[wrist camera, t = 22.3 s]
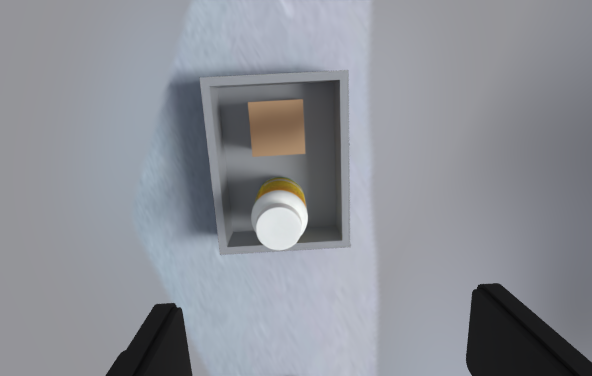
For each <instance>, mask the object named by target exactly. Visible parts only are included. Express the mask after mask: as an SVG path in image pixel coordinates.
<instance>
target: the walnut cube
mask: <svg viewBox="0 0 592 376" xmlns="http://www.w3.org/2000/svg"><path fill="white" fill-rule="evenodd" d="M248 110H249V122H250V134H251V145H252V157H259V156H276V155H294V154H305V134H304V113H303V99H297V100H279V101H261V102H248Z"/></svg>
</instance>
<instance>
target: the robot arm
mask: <svg viewBox="0 0 592 376" xmlns="http://www.w3.org/2000/svg"><path fill="white" fill-rule="evenodd" d="M466 363H467V367H468V370H469V371H470V373H471V375H472V376H592V362H590V361H589V360H588V359H587V358H586V357H585V356H583V355H582V354H581V353H580V352H579V351H578V350H577V349H575V348H574V347H573V346H572V345H571V344H569V343H568V342H567V341H566V340H565V339H564V338H562V337H561V336H560V335H559V334H558V333H557V332H555V331H554V330H553V329H552V328H551V327H550V326H549V325H547V324H546V323H545V322H544V321H542V319H540V318H539V317H538V316H537V315H536V314H535V313H533V312H532V311H531V310H530V309H529V308H527V307H526V306H525V305H524V304H523V303H522V302H520V301H519V300H518V299H517V298H516V297H515V296H513V295H512V294H511V293H510V292H509V291H508V290H506V289H505V288H504V287H503V286H502V285H500V284H498V283H493V284H480V285H478V287H477V289H475V290H473V292H472V300H471V312H470V322H469V333H468V344H467V353H466ZM106 376H192V371H191V364H190V358H189V351H188V344H187V338H186V331H185V325H184V318H183V312H182V309H181V308H180V307H179V308H177V307H176V304H175V303H167V304H156V305H155V306H154V307H153V309H152V310H151V312H150V313H149V315H148V316H147V318H146V320H145V321H144V323H143V324H142V326H141V328H140V329H139V331H138V332H137V334H136V335H135V337H134V339H133V340H132V342H131V343H130V345H129V346H128V348H127V350H125V351H123V352H122V353H121V354H120V355H119V356H118V357H117V359H116V361H115V362H114V364H113V365H112V367H111V368H110V370H109V371H108V373H107V374H106Z"/></svg>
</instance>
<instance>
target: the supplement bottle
mask: <svg viewBox="0 0 592 376" xmlns="http://www.w3.org/2000/svg"><path fill="white" fill-rule="evenodd" d="M251 222H252V226H253V229H254V231H255V232H256V235H257V237H258V239H259V241H260V242H261V243H262V244H263V245H264V246H266V247H267V248H269V249H272V250H285V249H288V248H290V247H292V246H293V245H294V244H296V242H297V241H298V240H299V238H300V236H301V235H302V234H303V232H304V231H305V229H306V226H307V222H308V214H307V208H306V203H305V197H304V193H303V190H302V189H301V187H300V186H299V185H298V184H297V183H296V182H295V181H294V180H292V179H290V178H288V177H283V176H278V177H273V178H270V179H269V180H267V181H266V182H265V183H264V184H263V185H262V186H261V187H260V189H259V191H258V194H257V197H256V200H255V203H254V206H253V209H252V213H251Z"/></svg>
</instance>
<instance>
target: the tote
mask: <svg viewBox="0 0 592 376" xmlns="http://www.w3.org/2000/svg"><path fill="white" fill-rule="evenodd" d="M199 78H200V87H201V95H202V104H203V112H204V121H205V130H206V138H207V147H208V156H209V164H210V173H211V181H212V190H213V199H214V207H215V216H216V225H217V233H218V242H219V250H220V255H226V254H243V253H260V252H277V251H294V250H311V249H328V248H345V247H350V182H349V73H348V70H340V71H320V72H300V73H280V74H260V75H239V76H219V77H199ZM297 99H303V113H304V134H305V154H294V155H276V156H259V157H252V145H251V134H250V122H249V110H248V102H261V101H279V100H297ZM278 176H283V177H288V178H290V179H292V180H294V181H295V182H296V183H297V184H298V185H299V186H300V187H301V189H302V190H303V193H304V197H305V203H306V208H307V214H308V222H307V226H306V229H305V231H304V232H303V234H302V235H301V236H300V238H299V240H298V241H297V242H296V244H294V245H293V246H292V247H290V248H288V249H285V250H272V249H269V248H267V247H266V246H264V245H263V244H262V243H261V242H260V241H259V239H258V237H257V235H256V232H255V231H254V229H253V226H252V222H251V213H252V209H253V206H254V203H255V200H256V197H257V194H258V191H259V189H260V187H261V186H262V185H263V184H264V183H265V182H266V181H267V180H269V179H270V178H273V177H278Z"/></svg>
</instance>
